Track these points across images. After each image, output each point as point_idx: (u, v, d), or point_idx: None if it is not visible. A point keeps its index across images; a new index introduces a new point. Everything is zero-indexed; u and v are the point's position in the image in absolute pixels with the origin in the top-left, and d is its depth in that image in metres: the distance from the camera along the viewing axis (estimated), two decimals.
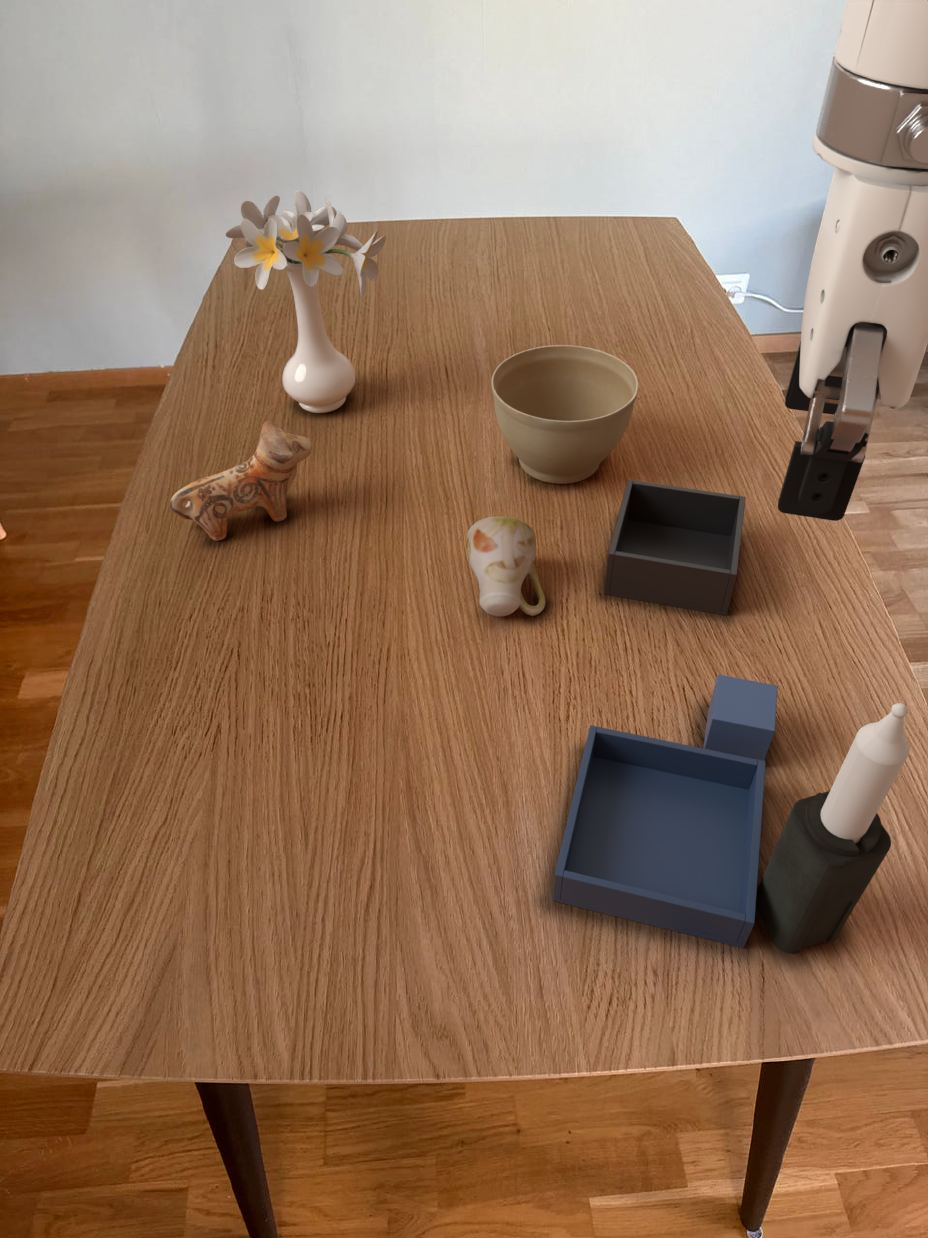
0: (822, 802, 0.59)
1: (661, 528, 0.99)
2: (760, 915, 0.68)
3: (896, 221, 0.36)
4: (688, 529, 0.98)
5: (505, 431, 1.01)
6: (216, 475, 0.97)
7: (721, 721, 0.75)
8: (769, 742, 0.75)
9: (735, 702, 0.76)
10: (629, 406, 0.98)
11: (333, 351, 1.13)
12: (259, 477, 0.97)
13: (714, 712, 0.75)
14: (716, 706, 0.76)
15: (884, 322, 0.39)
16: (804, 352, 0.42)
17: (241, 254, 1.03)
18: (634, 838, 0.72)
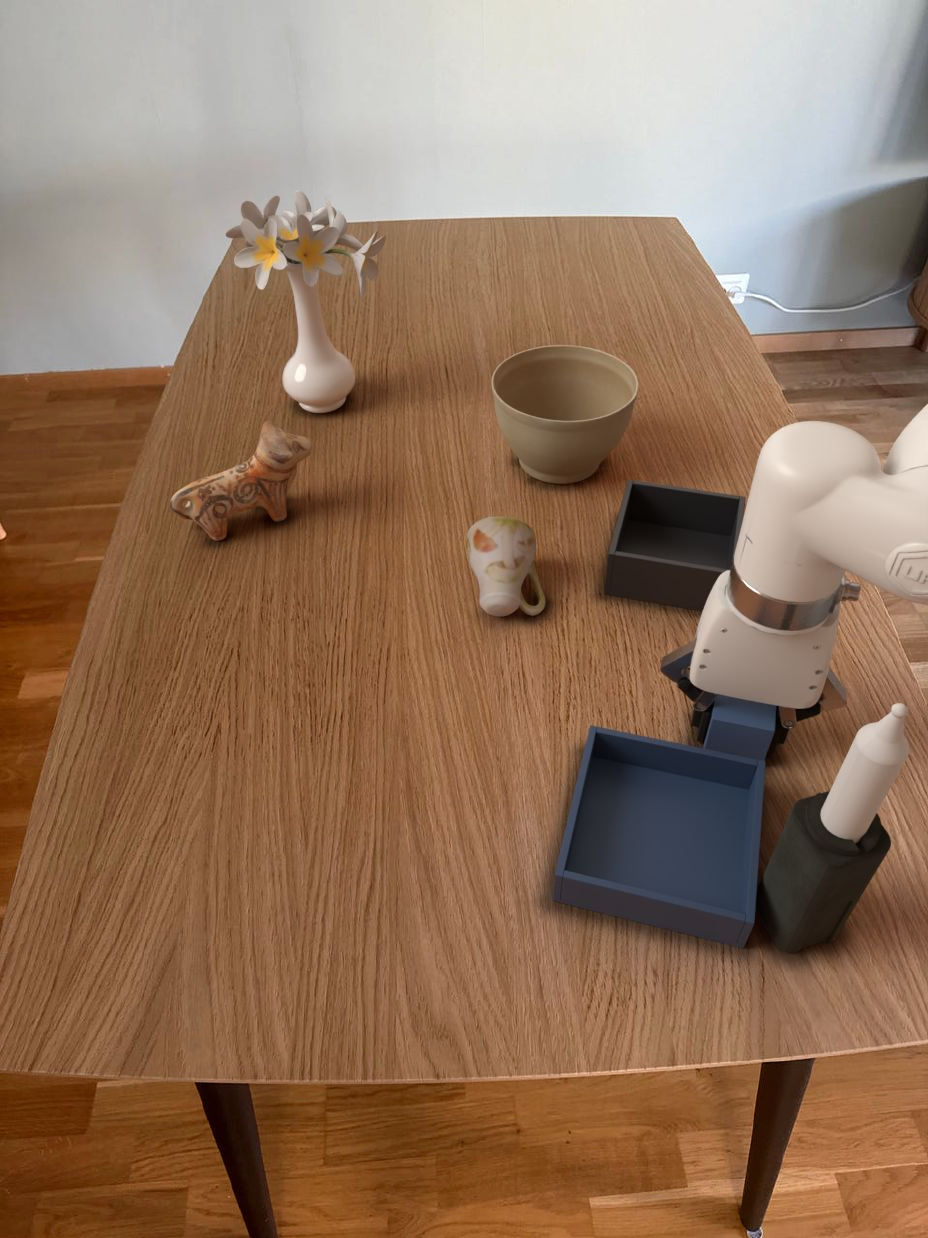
0: (822, 802, 0.59)
1: (661, 528, 0.99)
2: (760, 915, 0.68)
3: (838, 622, 0.67)
4: (688, 529, 0.98)
5: (505, 431, 1.01)
6: (216, 475, 0.97)
7: (721, 721, 0.75)
8: (769, 742, 0.75)
9: (735, 702, 0.76)
10: (629, 406, 0.98)
11: (333, 351, 1.13)
12: (259, 477, 0.97)
13: (714, 712, 0.75)
14: (716, 706, 0.76)
15: None
16: (799, 696, 0.71)
17: (241, 254, 1.03)
18: (634, 838, 0.72)
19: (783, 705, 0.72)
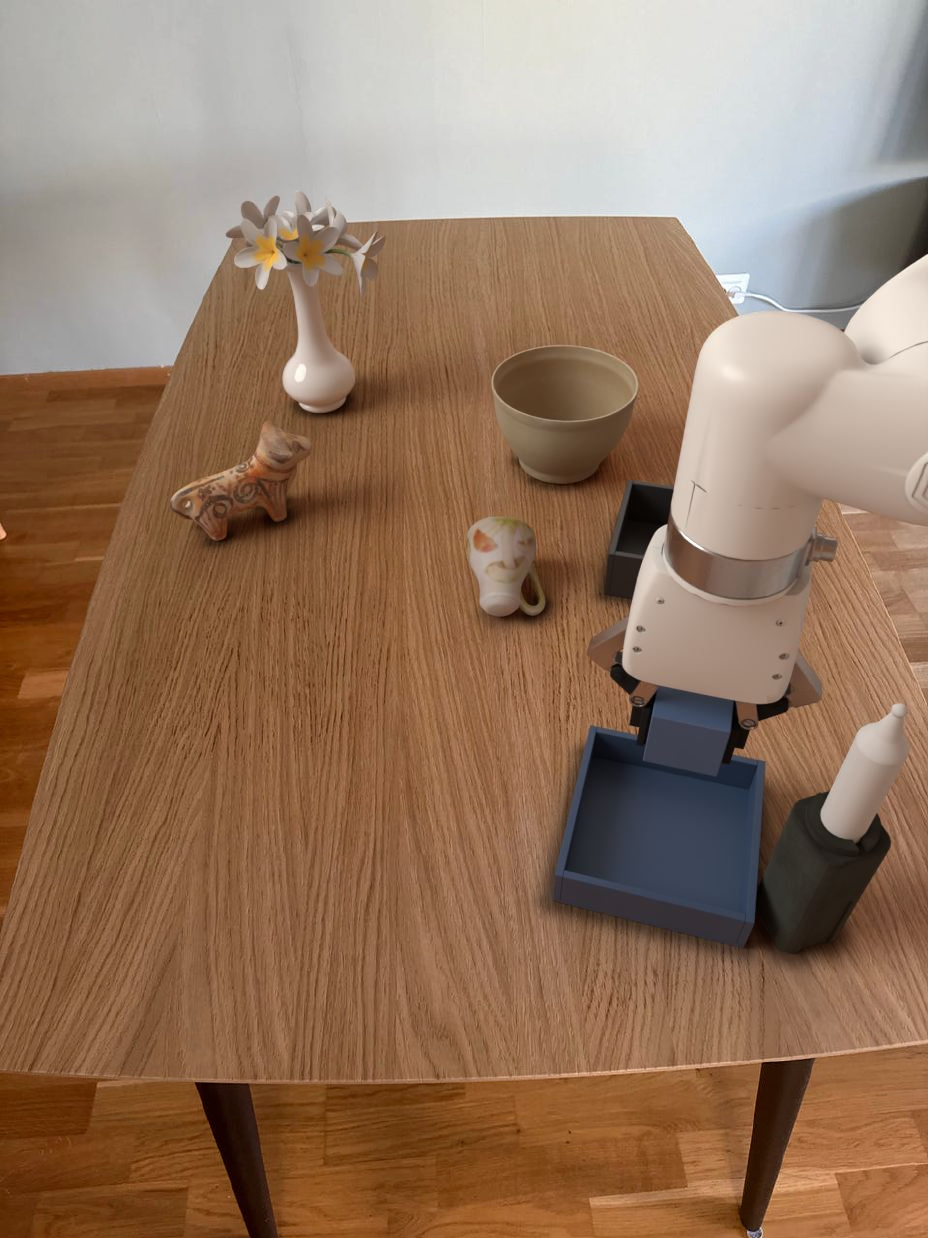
0: (822, 802, 0.59)
1: None
2: (760, 915, 0.68)
3: (809, 591, 0.51)
4: None
5: (505, 431, 1.01)
6: (216, 475, 0.97)
7: (663, 719, 0.59)
8: (724, 746, 0.59)
9: (682, 695, 0.60)
10: (629, 406, 0.98)
11: (333, 351, 1.13)
12: (259, 477, 0.97)
13: (655, 708, 0.59)
14: (657, 701, 0.60)
15: None
16: (760, 688, 0.55)
17: (241, 254, 1.03)
18: (634, 838, 0.72)
19: (740, 699, 0.56)
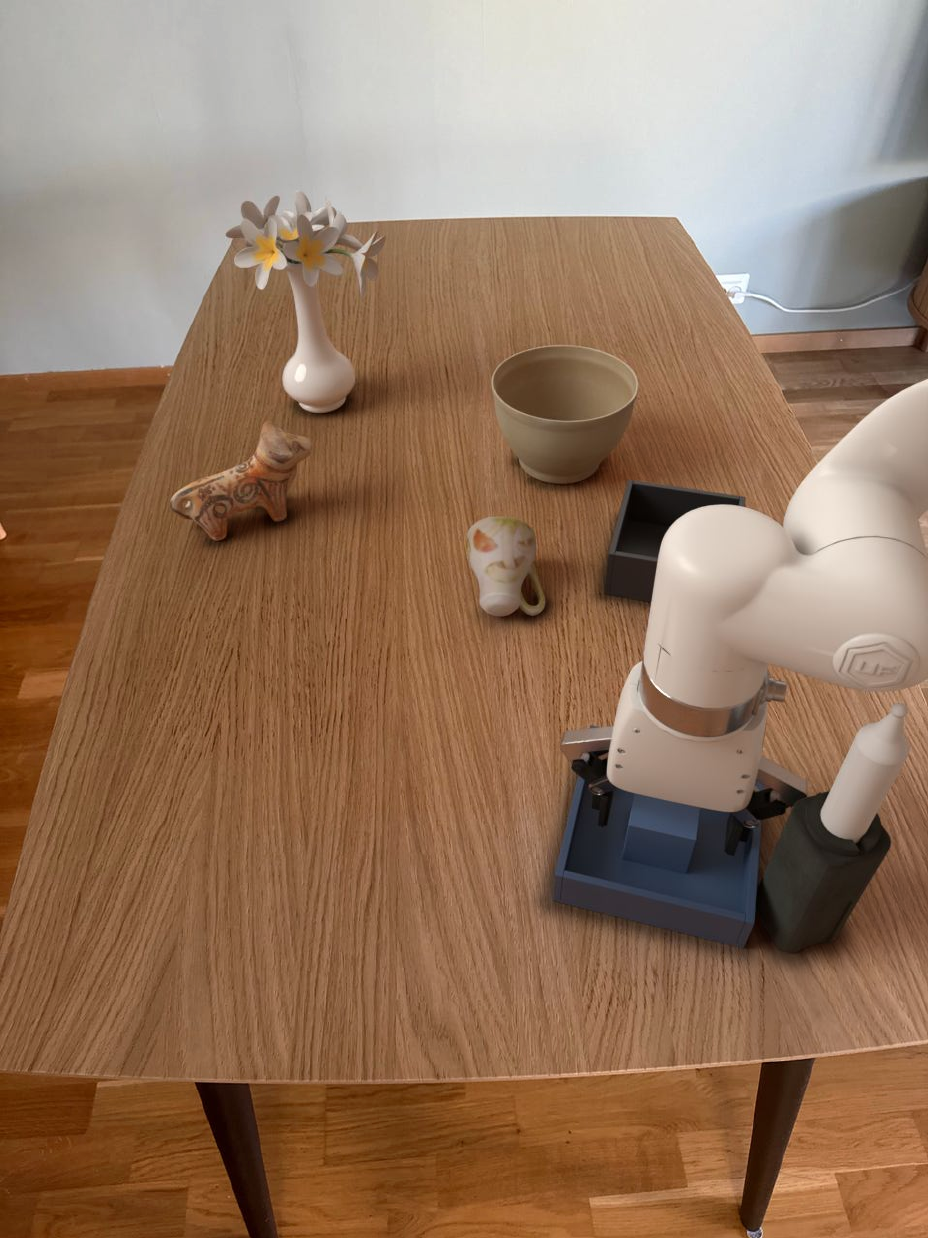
0: (822, 802, 0.59)
1: (661, 528, 0.99)
2: (760, 915, 0.68)
3: (765, 722, 0.59)
4: None
5: (505, 431, 1.01)
6: (216, 475, 0.97)
7: (638, 827, 0.67)
8: (691, 851, 0.68)
9: (655, 804, 0.69)
10: (629, 406, 0.98)
11: (333, 351, 1.13)
12: (259, 477, 0.97)
13: (631, 817, 0.68)
14: (633, 810, 0.68)
15: None
16: (726, 800, 0.63)
17: (241, 254, 1.03)
18: None
19: (710, 808, 0.64)
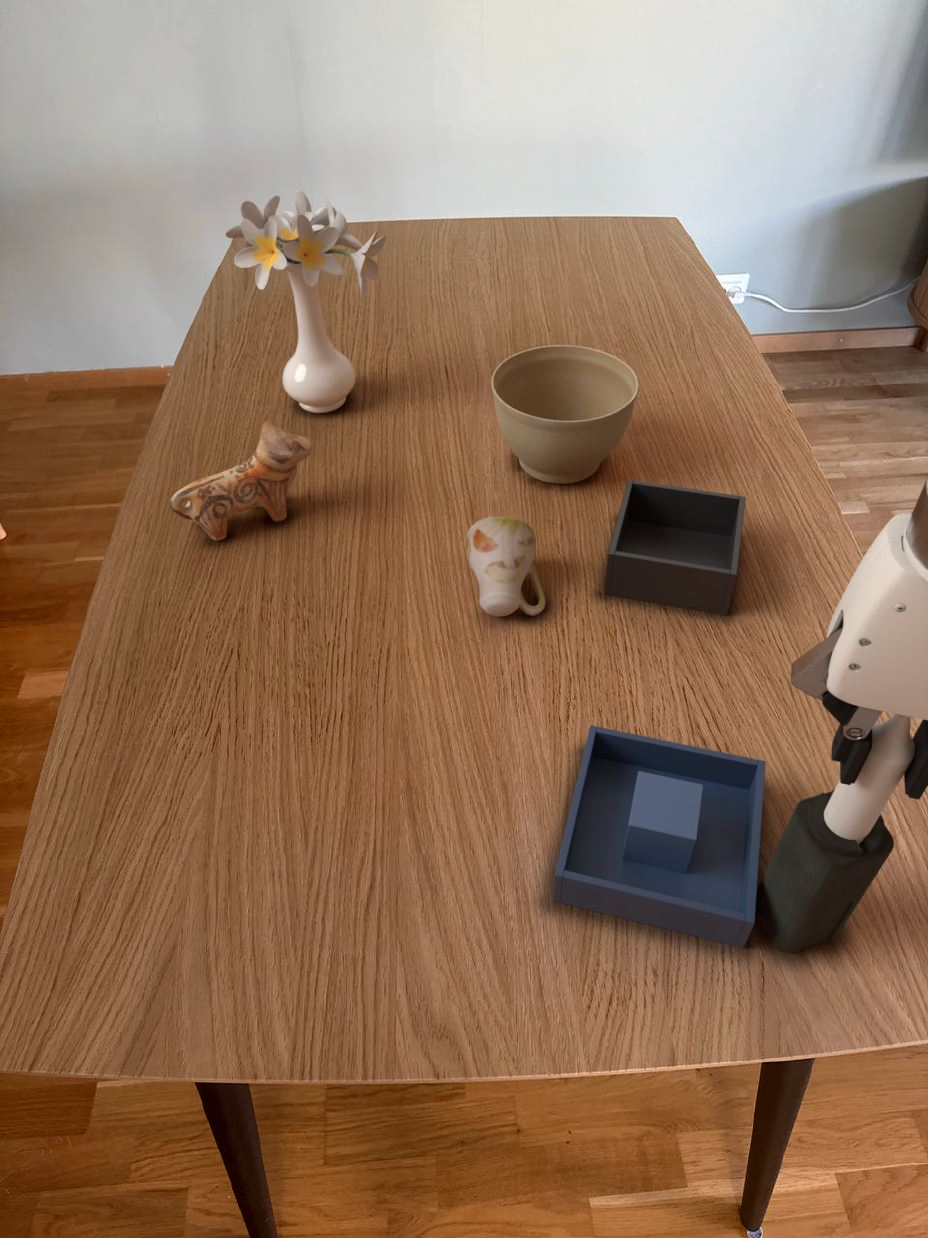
0: (825, 802, 0.59)
1: (661, 528, 0.99)
2: (760, 915, 0.68)
3: None
4: (688, 529, 0.98)
5: (505, 431, 1.01)
6: (216, 475, 0.97)
7: (638, 827, 0.67)
8: (691, 851, 0.68)
9: (655, 804, 0.69)
10: (629, 406, 0.98)
11: (333, 351, 1.13)
12: (259, 477, 0.97)
13: (631, 817, 0.68)
14: (633, 810, 0.68)
15: None
16: None
17: (241, 254, 1.03)
18: None
19: None
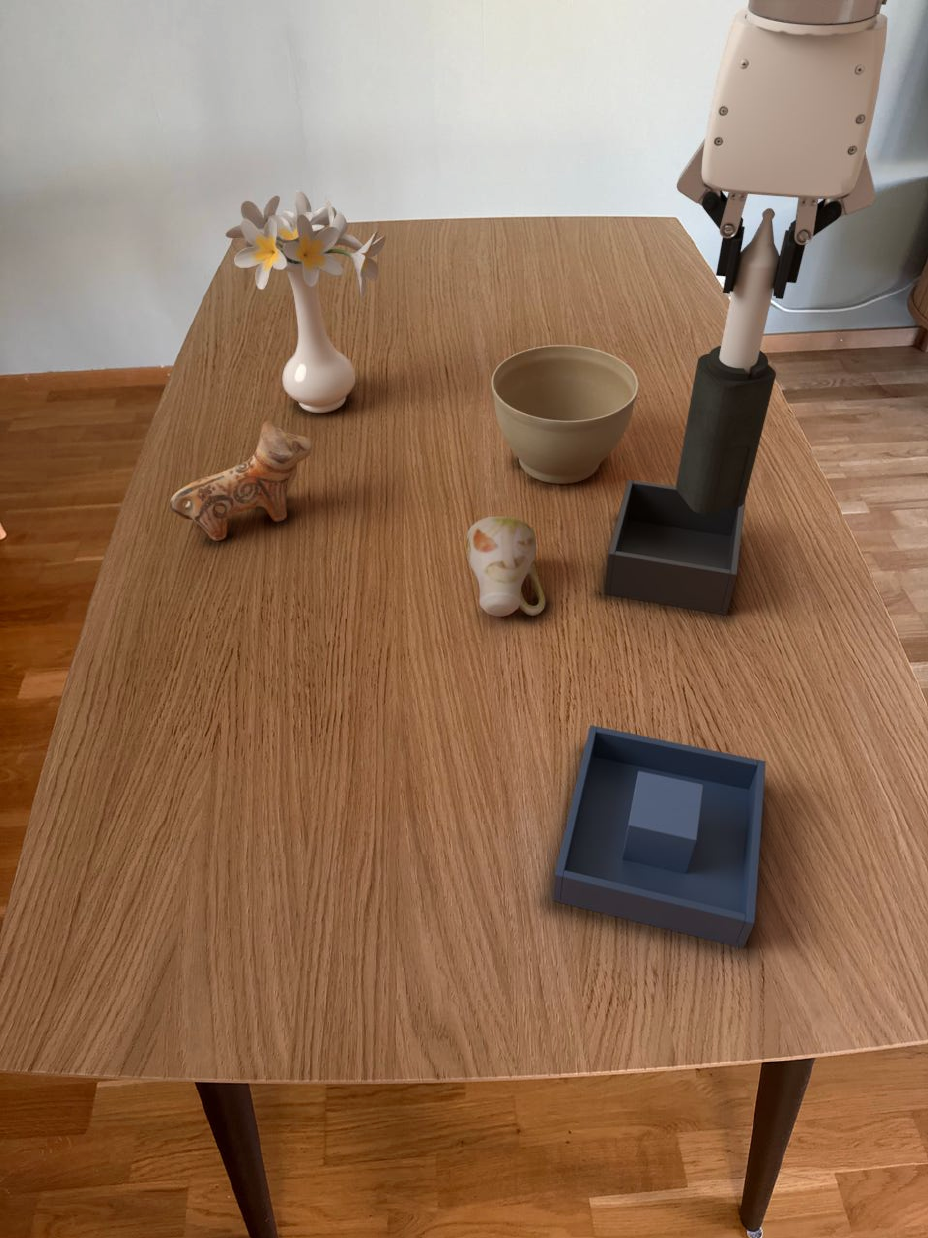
0: None
1: (661, 528, 0.99)
2: (680, 492, 0.81)
3: (884, 43, 0.55)
4: (688, 529, 0.98)
5: (505, 431, 1.01)
6: (216, 475, 0.97)
7: (638, 827, 0.67)
8: (691, 851, 0.68)
9: (655, 804, 0.69)
10: (629, 406, 0.98)
11: (333, 351, 1.13)
12: (259, 477, 0.97)
13: (631, 817, 0.68)
14: (633, 810, 0.68)
15: None
16: (835, 170, 0.58)
17: (241, 254, 1.03)
18: None
19: (815, 193, 0.60)
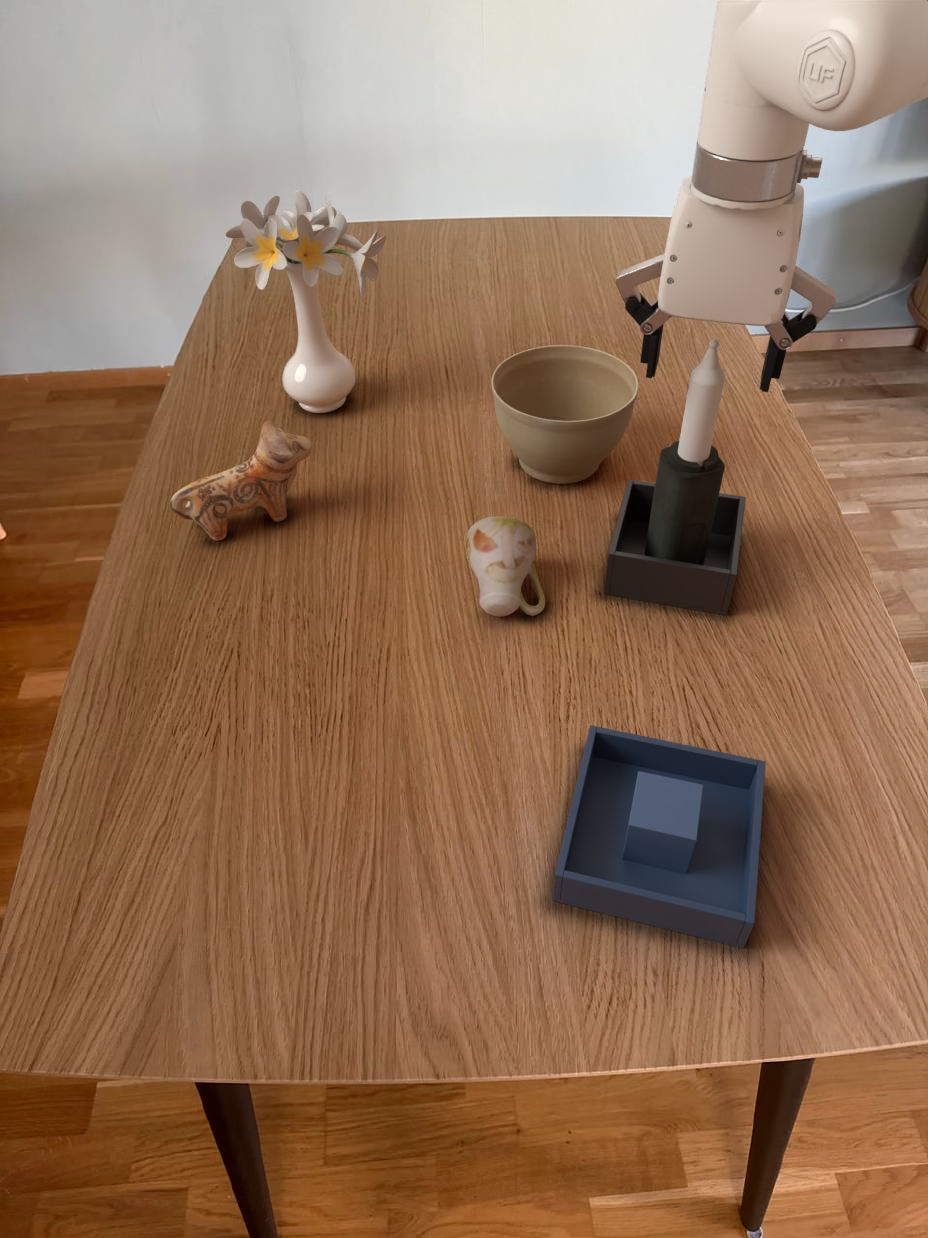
0: None
1: None
2: None
3: (802, 210, 0.68)
4: None
5: (505, 431, 1.01)
6: (216, 475, 0.97)
7: (638, 827, 0.67)
8: (691, 851, 0.68)
9: (655, 804, 0.69)
10: (629, 406, 0.98)
11: (333, 351, 1.13)
12: (259, 477, 0.97)
13: (631, 817, 0.68)
14: (633, 810, 0.68)
15: None
16: (765, 305, 0.71)
17: (241, 254, 1.03)
18: None
19: (750, 322, 0.73)
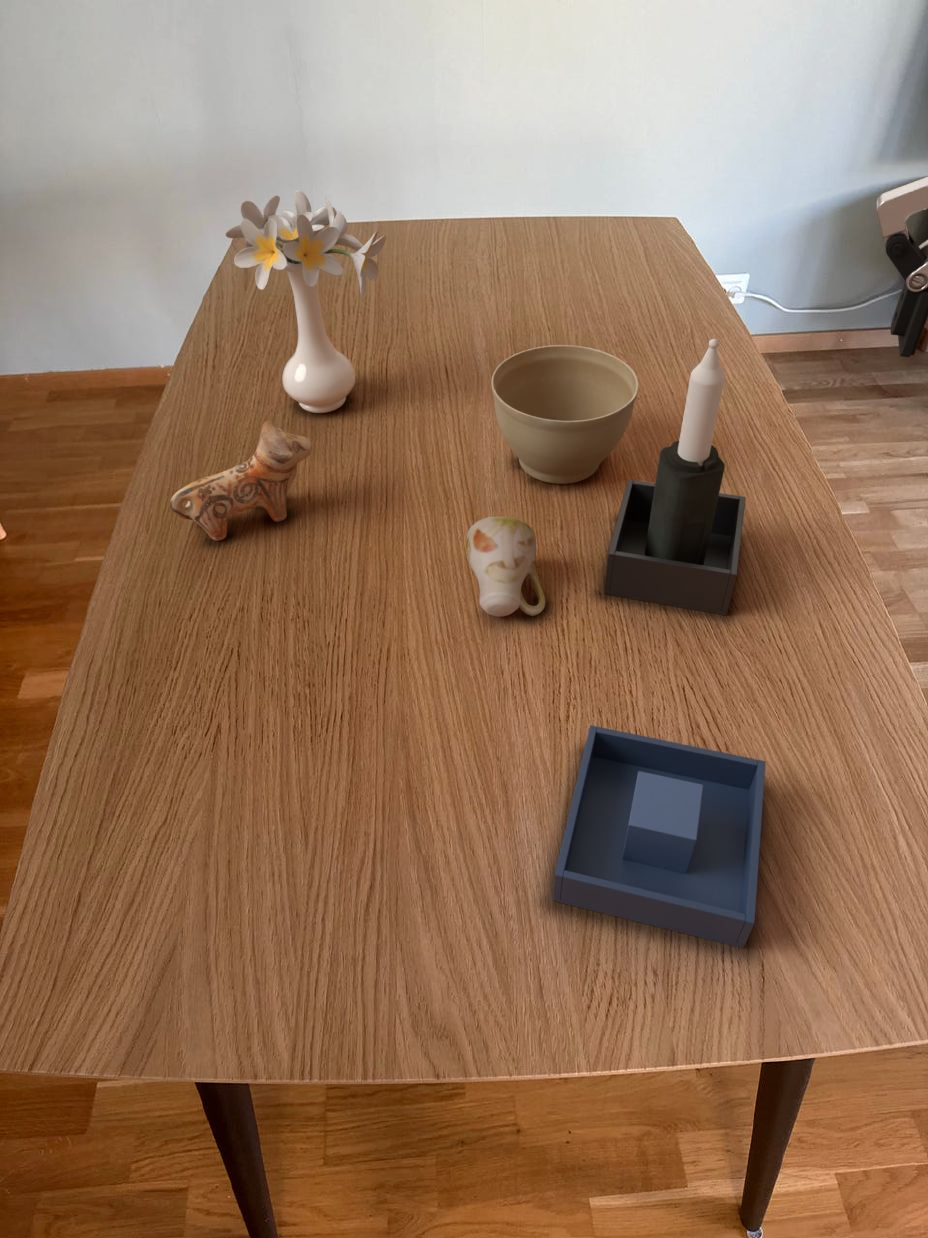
0: None
1: None
2: None
3: None
4: None
5: (505, 431, 1.01)
6: (216, 475, 0.97)
7: (638, 827, 0.67)
8: (691, 851, 0.68)
9: (655, 804, 0.69)
10: (629, 406, 0.98)
11: (333, 351, 1.13)
12: (259, 477, 0.97)
13: (631, 817, 0.68)
14: (633, 810, 0.68)
15: None
16: None
17: (241, 254, 1.03)
18: None
19: None
